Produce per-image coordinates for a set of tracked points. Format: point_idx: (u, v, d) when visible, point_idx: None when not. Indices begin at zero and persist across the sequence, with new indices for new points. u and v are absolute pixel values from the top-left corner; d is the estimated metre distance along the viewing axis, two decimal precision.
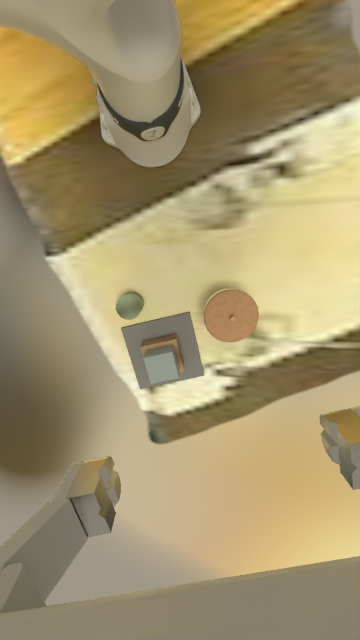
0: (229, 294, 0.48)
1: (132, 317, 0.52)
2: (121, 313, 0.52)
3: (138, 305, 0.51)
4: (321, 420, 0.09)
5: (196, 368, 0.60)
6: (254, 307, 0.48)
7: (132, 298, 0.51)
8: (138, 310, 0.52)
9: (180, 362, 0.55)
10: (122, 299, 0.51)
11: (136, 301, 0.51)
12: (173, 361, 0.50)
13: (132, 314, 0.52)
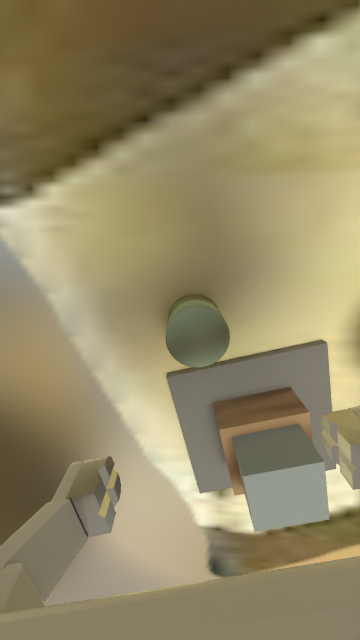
0: None
1: (207, 362, 0.20)
2: (179, 352, 0.20)
3: (224, 331, 0.19)
4: (321, 420, 0.09)
5: (322, 456, 0.28)
6: None
7: (211, 314, 0.19)
8: (224, 345, 0.20)
9: None
10: (184, 317, 0.19)
11: (221, 322, 0.19)
12: (322, 483, 0.19)
13: (208, 355, 0.20)
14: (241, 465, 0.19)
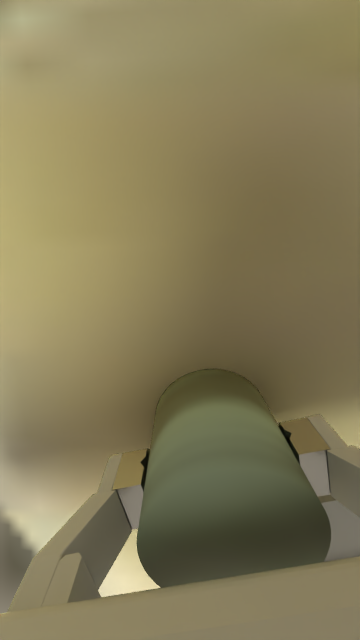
0: None
1: None
2: (177, 577, 0.07)
3: (316, 530, 0.06)
4: None
5: None
6: None
7: (280, 486, 0.06)
8: (311, 561, 0.07)
9: None
10: (193, 492, 0.06)
11: (309, 505, 0.06)
12: None
13: None
14: None
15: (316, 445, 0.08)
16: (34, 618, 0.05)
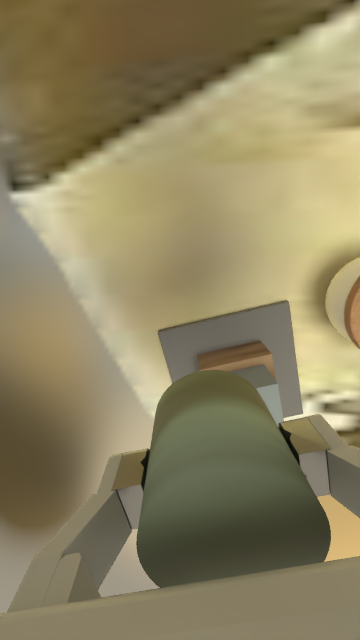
0: None
1: None
2: (177, 578, 0.07)
3: (316, 531, 0.06)
4: (279, 428, 0.09)
5: (290, 402, 0.33)
6: None
7: (279, 487, 0.06)
8: (311, 562, 0.07)
9: None
10: (193, 493, 0.06)
11: (308, 507, 0.06)
12: (278, 402, 0.24)
13: None
14: None
15: (316, 445, 0.08)
16: (34, 618, 0.05)
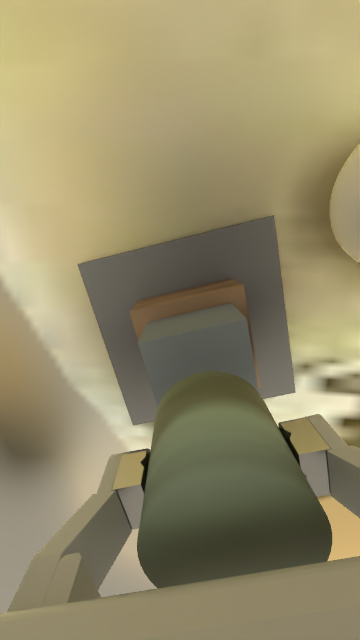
0: None
1: None
2: (178, 581, 0.07)
3: (317, 533, 0.06)
4: (279, 428, 0.09)
5: (277, 375, 0.23)
6: None
7: (280, 490, 0.06)
8: None
9: None
10: (194, 496, 0.06)
11: (310, 510, 0.06)
12: (248, 355, 0.14)
13: None
14: (142, 336, 0.15)
15: (316, 445, 0.08)
16: (34, 618, 0.05)
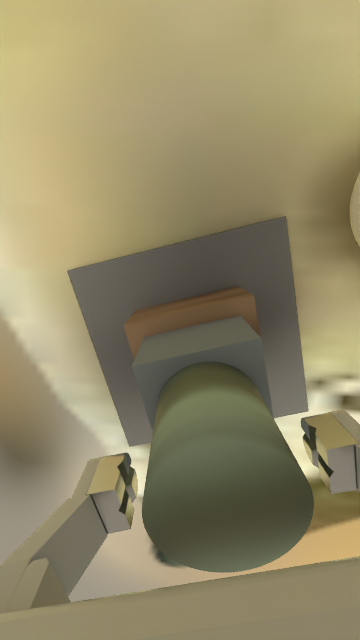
0: None
1: (249, 563, 0.08)
2: (178, 543, 0.08)
3: (300, 498, 0.07)
4: (302, 424, 0.09)
5: (288, 393, 0.21)
6: None
7: (267, 459, 0.07)
8: (297, 528, 0.07)
9: None
10: (192, 464, 0.07)
11: (293, 477, 0.07)
12: (262, 380, 0.12)
13: (252, 549, 0.08)
14: (137, 357, 0.12)
15: (343, 440, 0.08)
16: (34, 618, 0.05)
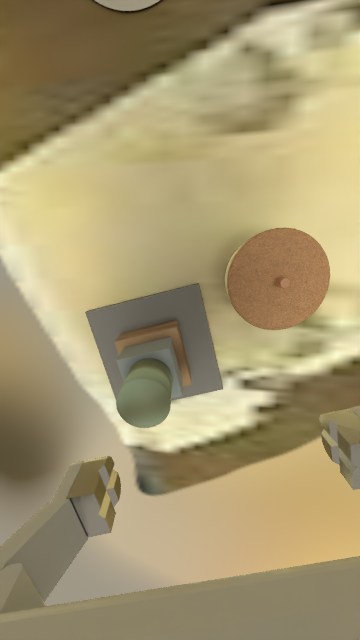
0: (276, 236, 0.25)
1: (152, 423, 0.24)
2: (128, 416, 0.23)
3: (165, 398, 0.23)
4: (321, 420, 0.09)
5: (210, 378, 0.37)
6: (323, 262, 0.26)
7: (153, 385, 0.23)
8: (166, 409, 0.23)
9: (184, 368, 0.32)
10: (130, 387, 0.23)
11: (162, 391, 0.23)
12: (171, 366, 0.28)
13: (153, 418, 0.23)
14: (119, 356, 0.28)
15: None
16: (34, 618, 0.05)
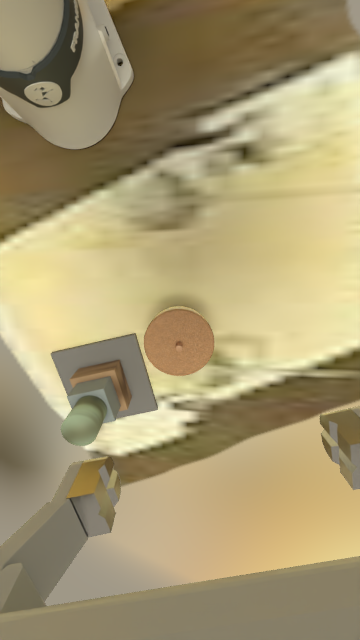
0: (174, 315, 0.36)
1: (86, 443, 0.35)
2: (69, 438, 0.35)
3: (93, 427, 0.35)
4: (321, 420, 0.09)
5: (147, 402, 0.48)
6: (208, 332, 0.37)
7: (84, 419, 0.34)
8: (94, 434, 0.35)
9: (121, 397, 0.44)
10: (70, 420, 0.34)
11: (91, 423, 0.34)
12: (106, 400, 0.39)
13: (86, 440, 0.35)
14: (70, 393, 0.40)
15: None
16: (34, 618, 0.05)
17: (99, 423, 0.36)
